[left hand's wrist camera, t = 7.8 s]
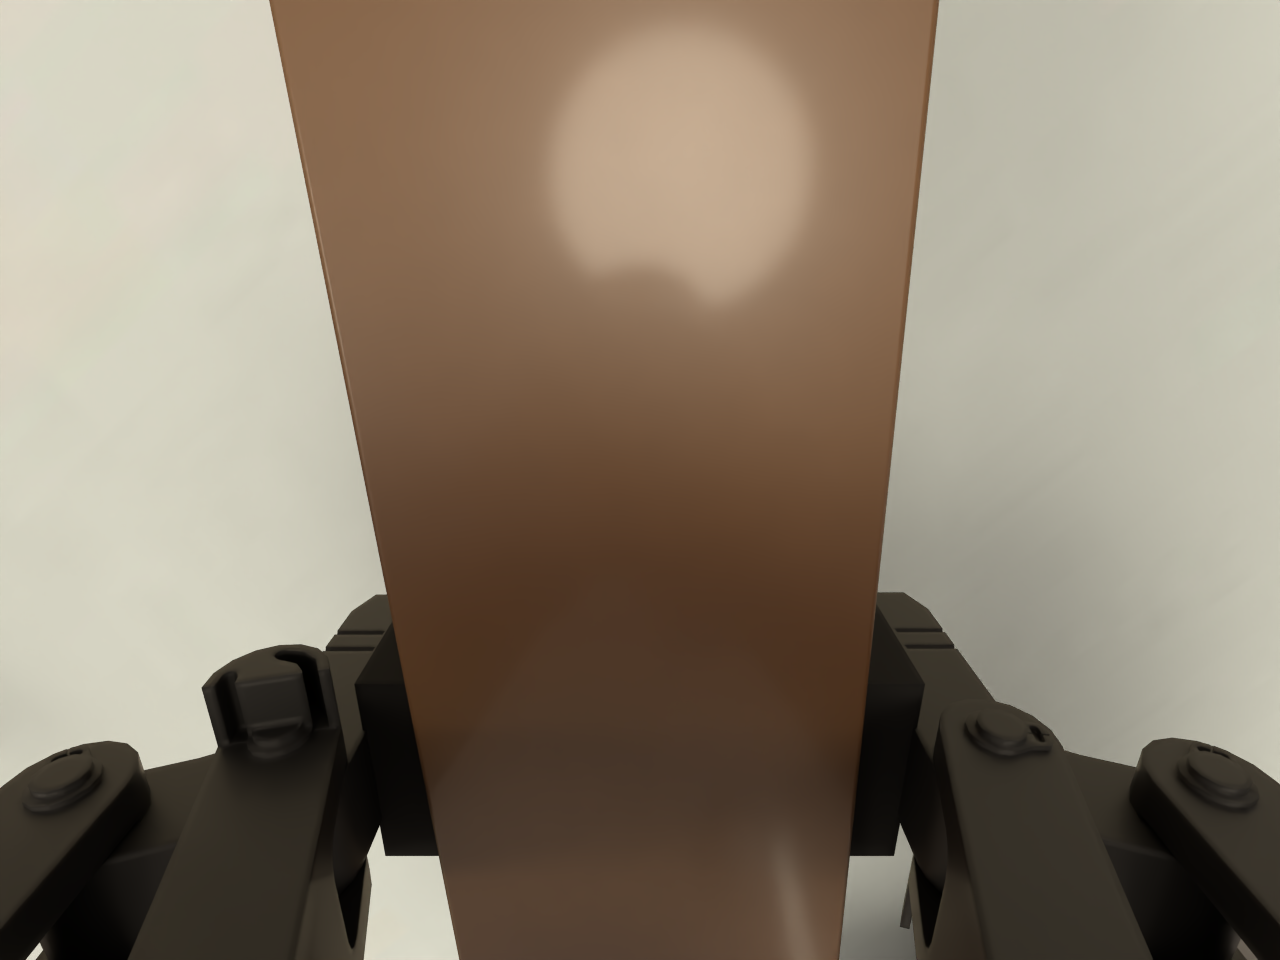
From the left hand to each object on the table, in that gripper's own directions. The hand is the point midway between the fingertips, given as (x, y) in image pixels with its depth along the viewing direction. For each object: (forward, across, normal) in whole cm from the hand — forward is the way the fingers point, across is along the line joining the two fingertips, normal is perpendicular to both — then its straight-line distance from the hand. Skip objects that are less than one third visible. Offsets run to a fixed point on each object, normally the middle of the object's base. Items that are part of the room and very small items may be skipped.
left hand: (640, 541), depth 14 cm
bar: (0, +1, -28) cm, 28 cm away
